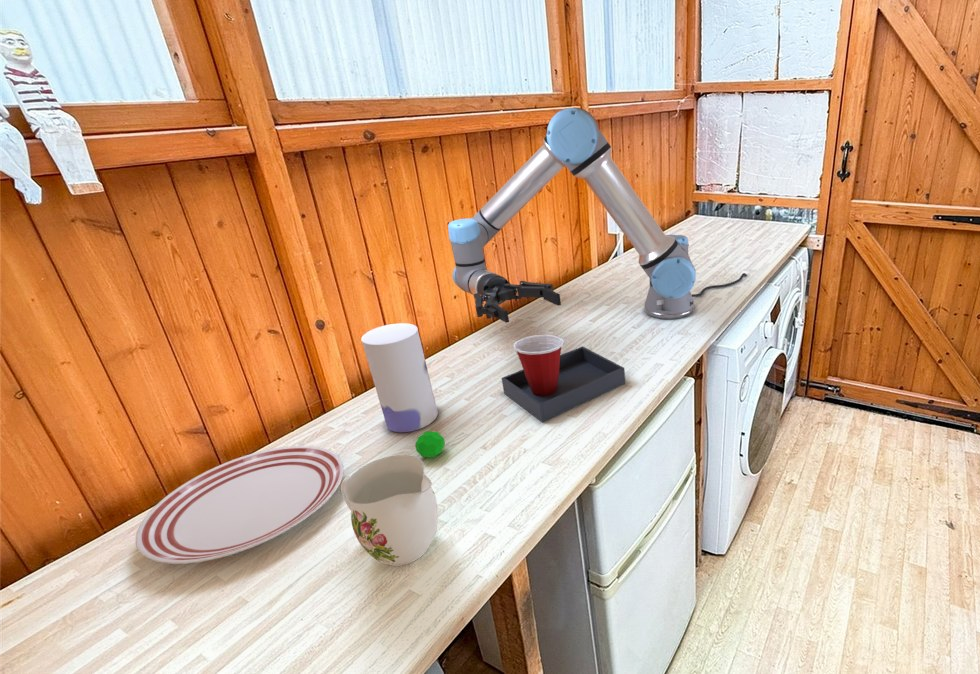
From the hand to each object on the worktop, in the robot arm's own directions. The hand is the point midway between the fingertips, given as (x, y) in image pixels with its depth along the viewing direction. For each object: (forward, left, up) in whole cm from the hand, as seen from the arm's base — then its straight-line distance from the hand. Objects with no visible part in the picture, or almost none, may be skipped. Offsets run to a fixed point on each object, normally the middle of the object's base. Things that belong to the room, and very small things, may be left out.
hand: (533, 308), depth 118 cm
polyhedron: (+28, +19, -17) cm, 38 cm away
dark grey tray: (-2, +9, -17) cm, 20 cm away
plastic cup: (+2, +8, -17) cm, 19 cm away
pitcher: (+35, +40, -17) cm, 56 cm away
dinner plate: (+56, +19, -17) cm, 61 cm away
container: (+30, +4, -17) cm, 35 cm away
